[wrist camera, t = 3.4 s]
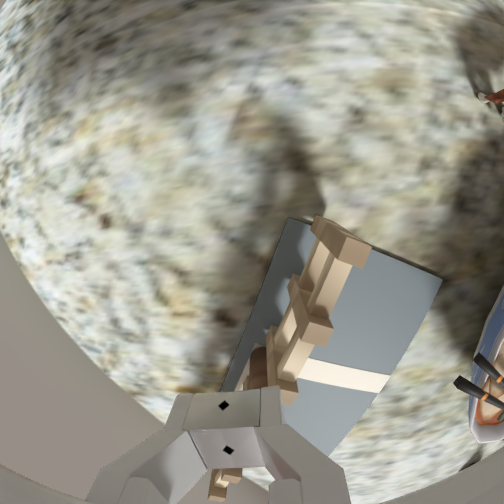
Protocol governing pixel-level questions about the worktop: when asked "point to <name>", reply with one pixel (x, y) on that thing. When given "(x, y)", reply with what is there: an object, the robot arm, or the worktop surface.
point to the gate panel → (312, 303)
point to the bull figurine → (493, 99)
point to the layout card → (339, 336)
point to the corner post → (258, 369)
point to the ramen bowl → (487, 379)
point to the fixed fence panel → (224, 474)
